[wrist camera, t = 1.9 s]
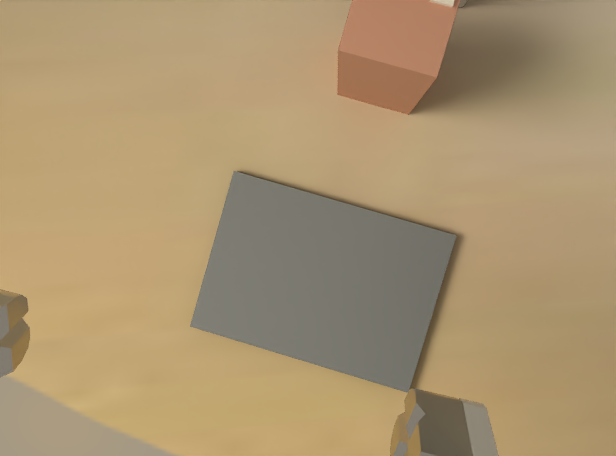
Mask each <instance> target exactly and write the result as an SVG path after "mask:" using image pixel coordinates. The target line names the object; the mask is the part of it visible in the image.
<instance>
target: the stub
mask: <svg viewBox="0 0 616 456" xmlns="http://www.w3.org/2000/svg"><path fill="white" fill-rule="evenodd" d="M459 3H460V0H352V3H351V7H350V10H349V14H348V17H347V21H346V24H345V28H344V31H343V35H342V38H341V42H340V45H339V49H338V95H341V96H344V97H348V98H351V99H355V100H358V101H362V102H365V103H369V104H373V105H376V106H380V107H383V108H387V109H390V110H394V111H397V112H401V113H405V114H408V115H409V113H410V112H411V111H412V109H413V108H414V107H415V106H416V104H417V103H418V102H419V100H420V99H421V98H422V96H423V95H424V94H425V93H426V91H427V90H428V89H429V87H430V86H431V85H432V83H433V82H434V81H435V80H436V78H437V76H438V73H439V69H440V66H441V63H442V59H443V56H444V53H445V49H446V46H447V43H448V39H449V36H450V33H451V29H452V26H453V23H454V19H455V16H456V13H457V9H458V6H459Z"/></svg>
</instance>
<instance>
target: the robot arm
mask: <svg viewBox="0 0 616 456" xmlns="http://www.w3.org/2000/svg"><path fill="white" fill-rule="evenodd" d="M27 312H28V303H27V298H26V297H24V296H23V295H20V294H16V293H13V292H9V291H5V290H1V289H0V377H2V376H4V375H7V374H9V373H11V372H13V371H14V370H15V369H16V367H17V366H18V365H19V364H20V363H21V361H22V359H23V357H24V355H25V353H26V351H27V349H28V346H29V340H30V328H29V326H28V325H27V324H26V322H25V321H24V320H23V318H22V317H23V316H24V315H25V314H26V313H27ZM390 456H499V455H498V451H497V447H496V443H495V439H494V435H493V431H492V427H491V423H490V420H489V416H488V412H487V408H486V407H485V405H484V404H482V403H478V402H473V401H469V400H464V399H457V398H454V397H450V396H446V395H441V394H437V393H432V392H428V391H424V390H419V389H415V388H411V389H410V391H409V392H408V394H407V396H406V398H405V412H404V413H402V414H400V415H398V417H397V420H396V423H395V425H394V429H393V433H392V438H391V447H390Z"/></svg>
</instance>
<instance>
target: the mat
mask: <svg viewBox="0 0 616 456" xmlns="http://www.w3.org/2000/svg"><path fill="white" fill-rule="evenodd" d="M456 236H457V235H454V234H450V233H447V232H443V231H440V230H436V229H433V228H429V227H426V226H423V225H419V224H416V223H412V222H409V221H405V220H402V219H398V218H395V217H391V216H388V215H385V214H381V213H378V212H374V211H371V210H367V209H364V208H360V207H357V206H354V205H350V204H347V203H343V202H340V201H336V200H333V199H329V198H326V197H323V196H319V195H316V194H312V193H309V192H305V191H302V190H298V189H295V188H291V187H288V186H285V185H281V184H278V183H274V182H271V181H267V180H264V179H260V178H257V177H254V176H250V175H247V174H243V173H240V172H236V171H234V172H233V176H232V179H231V183H230V187H229V190H228V194H227V197H226V201H225V204H224V208H223V211H222V215H221V219H220V222H219V226H218V229H217V233H216V236H215V240H214V243H213V247H212V250H211V254H210V258H209V261H208V265H207V268H206V272H205V275H204V279H203V282H202V286H201V290H200V293H199V297H198V300H197V304H196V307H195V311H194V314H193V318H192V321H191V325H190V327H194V328H197V329H200V330H204V331H207V332H210V333H213V334H217V335H220V336H223V337H227V338H230V339H233V340H236V341H240V342H243V343H246V344H250V345H253V346H256V347H260V348H263V349H266V350H269V351H273V352H276V353H279V354H283V355H286V356H289V357H292V358H296V359H299V360H302V361H306V362H309V363H312V364H315V365H319V366H322V367H325V368H329V369H332V370H335V371H338V372H342V373H345V374H348V375H352V376H355V377H358V378H361V379H365V380H368V381H371V382H375V383H378V384H381V385H384V386H388V387H391V388H394V389H398V390H401V391H404V392H409V389H410V386H411V383H412V380H413V376H414V373H415V370H416V366H417V363H418V360H419V357H420V353H421V350H422V347H423V344H424V340H425V337H426V334H427V330H428V327H429V324H430V321H431V317H432V314H433V311H434V308H435V304H436V301H437V298H438V294H439V291H440V288H441V285H442V281H443V278H444V275H445V272H446V268H447V265H448V262H449V258H450V255H451V252H452V249H453V245H454V242H455V239H456Z"/></svg>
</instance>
